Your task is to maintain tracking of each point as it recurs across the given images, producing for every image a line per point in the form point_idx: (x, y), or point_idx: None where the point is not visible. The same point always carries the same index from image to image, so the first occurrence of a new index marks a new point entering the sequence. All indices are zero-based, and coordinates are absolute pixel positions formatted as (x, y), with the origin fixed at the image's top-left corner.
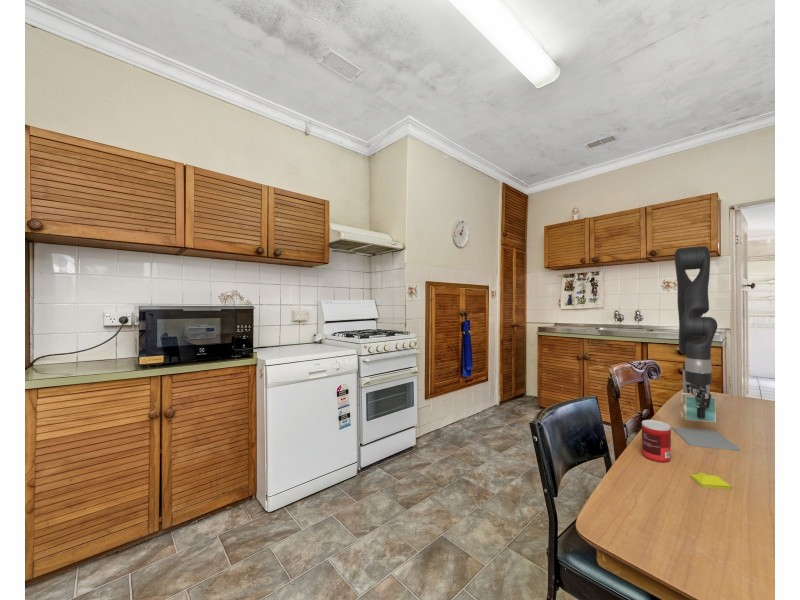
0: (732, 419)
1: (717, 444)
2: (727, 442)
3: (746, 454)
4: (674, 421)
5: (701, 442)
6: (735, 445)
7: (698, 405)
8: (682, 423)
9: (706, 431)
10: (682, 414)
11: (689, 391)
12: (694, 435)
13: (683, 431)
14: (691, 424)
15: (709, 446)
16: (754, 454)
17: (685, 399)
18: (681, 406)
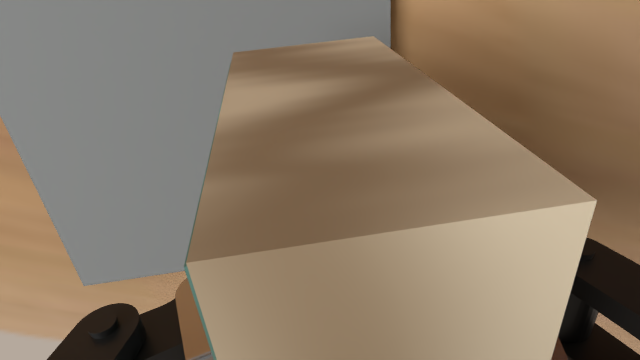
0: (620, 340)
1: (92, 189)
2: (177, 250)
3: (38, 289)
4: (573, 21)
5: (63, 94)
6: (144, 276)
7: (178, 310)
8: (530, 73)
9: None
10: (331, 48)
11: None
12: (223, 85)
13: (292, 20)
14: (516, 132)
15: (8, 129)
16: (70, 320)
17: (214, 184)
18: (396, 72)
